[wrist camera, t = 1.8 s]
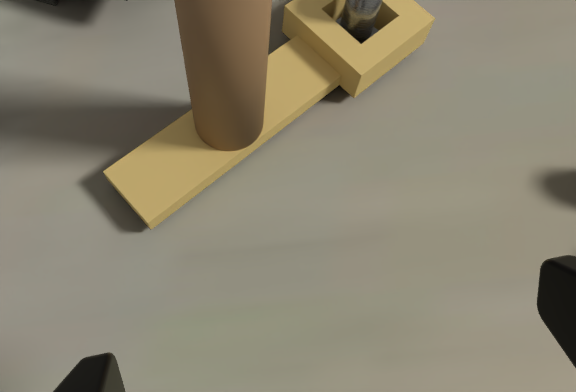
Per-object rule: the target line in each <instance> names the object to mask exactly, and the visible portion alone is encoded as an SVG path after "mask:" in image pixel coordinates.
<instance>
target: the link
mask: <svg viewBox="0 0 576 392" xmlns="http://www.w3.org/2000/svg"><path fill="white" fill-rule="evenodd" d="M174 1H175V7H176V13H177V19H178V25H179V32H180V38H181V44H182V50H183V56H184V62H185V69H186V75H187V81H188V87H189V93H190V99H191V106H192V109H191V110H190V111H188V112H187V113H185V114H184V115H183V116H181V117H180V118H178V119H177V120H176V121H174V122H173V123H171V124H170V125H168V126H167V127H166V128H164V129H163V130H161V131H160V132H158V133H157V134H156V135H154V136H153V137H151V138H150V139H148V140H147V141H146V142H144V143H143V144H141V145H140V146H139V147H137V148H136V149H134V150H133V151H131V152H130V153H129V154H127V155H126V156H124V157H123V158H121V159H120V160H119V161H117V162H116V163H114V164H113V165H111V166H110V167H109V168H107V169H106V170H104V171H103V173H104V174H105V176H106V178H107V180H108V181H109V182H110V183H111V184H112V185H113V187H114V188H115V189H116V190H117V191H118V192H119V193H120V195H121V196H122V197H123V198H124V199H125V200H126V202H127V203H128V204H129V205H130V206H131V207H132V208H133V210H134V211H135V212H136V213H137V214H138V215H139V217H140V218H141V219H142V220H143V221H144V222H145V223H146V225H147V226H148V227H149V228H150V229H153V228H154V227H155V226H157V225H158V224H159V223H161V222H162V221H163V220H164V219H166V218H167V217H168V216H170V215H171V214H172V213H174V212H175V211H176V210H177V209H179V208H180V207H181V206H183V205H184V204H185V203H187V202H188V201H189V200H190V199H192V198H193V197H194V196H196V195H197V194H198V193H200V192H201V191H202V190H203V189H205V188H206V187H207V186H209V185H210V184H211V183H213V182H214V181H215V180H216V179H218V178H219V177H220V176H222V175H223V174H224V173H226V172H227V171H228V170H229V169H231V168H232V167H233V166H235V165H236V164H237V163H239V162H240V161H241V160H242V159H244V158H245V157H246V156H248V155H249V154H250V153H252V152H253V151H254V150H255V149H257V148H258V147H259V146H261V145H262V144H263V143H265V142H266V141H267V140H268V139H270V138H271V137H272V136H274V135H275V134H276V133H278V132H279V131H280V130H281V129H283V128H284V127H285V126H287V125H288V124H289V123H291V122H292V121H293V120H294V119H296V118H297V117H298V116H300V115H301V114H302V113H304V112H305V111H306V110H307V109H309V108H310V107H311V106H313V105H314V104H315V103H317V102H318V101H319V100H320V99H322V98H323V97H324V96H326V95H327V94H328V93H330V92H331V91H332V90H333V89H335V88H336V87H337V86H339V85H340V86H341V87H342V88H343V89H344V90H346V91H347V92H348V93H349V94H350V95H351V96H352V97H353V98H355V97H356V96H357V95H358V94H360V93H361V92H362V91H364V90H365V89H366V88H367V87H369V86H370V85H371V84H372V83H374V82H375V81H376V80H377V79H379V78H380V77H381V76H383V75H384V74H385V73H386V72H388V71H389V70H390V69H391V68H393V67H394V66H395V65H396V64H398V63H399V62H400V61H402V60H403V59H404V58H405V57H407V56H408V55H409V54H410V53H412V52H413V51H414V50H415V49H417V48H418V47H419V46H421V45H422V44H423V43H424V41H425V39H426V37H427V34H428V32H429V30H430V28H431V26H432V24H433V22H434V20H435V18H434V17H433V16H431V15H430V14H429V13H428V12H427V11H425V10H424V9H423V8H422V7H421V6H420V5H418V4H417V3H416V2H415V1H414V0H382V3H381V6H380V9H379V13H378V16H377V19H376V22H375V25H374V27H375V28H376V29H377V30H378V32H377V33H375V34H374V35H373V36H371V37H370V38H369V39H367V40H366V41H365V42H363V43H362V44H360V43H359V42H358V41H357V40H356V39H355V38H353V37H352V36H351V35H350V34H349V33H348V32H347V31H346V30H345V29H343V28H342V27H341V26H340V25H339V24H338V23H337V22H336V20H337V19H339V18H340V17H341V16H342V13H343V9H344V5H345V1H346V0H292V1H291V2H289V3H288V4H286V5H285V7H284V17H283V27H282V32H283V33H284V34H285V35H286V36H287V37H288V38H289V39H291V40H289V41H288V42H287V43H285V44H284V45H282V46H281V47H279V48H278V49H277V50H275V51H274V52H272V53H271V54H269V55H268V50H269V36H270V21H271V7H272V0H174Z"/></svg>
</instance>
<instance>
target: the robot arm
mask: <svg viewBox="0 0 576 392" xmlns="http://www.w3.org/2000/svg"><path fill="white" fill-rule="evenodd" d="M537 308H538V312H539V314H540V317H541V319H542V320H543V322H544V323H545V325H546V326H547V327H548V329H549V330H550V332H551V333H552V335H553V336H554V338H555V339H556V340H557V342H558V343H559V345H560V346H561V348H562V349H563V351H564V352H565V353H566V355H567V356H568V358H569V359H570V361H571V362H572V364H573V365H574V366H575V368H576V257H575V256H571V255H565V256H560V257H556V258H551V259H547V260H545V261H544V262H543V263H542V265H541V268H540V276H539V287H538V297H537ZM53 392H125V388H124V385H123V381H122V378H121V374H120V371H119V367H118V364H117V360H116V358H115V356H114V355H113V354H112V353H104V354H99V355H94V356H89V357H85V358H83V359H82V360H81V361H80V362H79V363H78V364H77V365H76V366H75V367H74V368H73V370H72V371H71V372H70V373H69V374H68V375H67V376H66V377H65V379H64V380H63V381H62V382H61V383H60V384H59V385H58V387H57V388H56V389H55V390H54V391H53Z"/></svg>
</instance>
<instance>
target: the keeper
mask: <svg viewBox="0 0 576 392" xmlns="http://www.w3.org/2000/svg"><path fill="white" fill-rule="evenodd" d="M39 1H42V2H45V3H48V4H52V5H55V6H56V4H57V3H58V1H59V0H39ZM126 1H127V0H126Z"/></svg>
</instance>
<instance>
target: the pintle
mask: <svg viewBox="0 0 576 392" xmlns="http://www.w3.org/2000/svg"><path fill="white" fill-rule="evenodd" d="M381 3H382V0H346V1H345V5H344V9H343V13H342V16H341V17H340V18H339V19H337V20H336V22H337V23H338V24H339V25H340V26H341V27H342V28H343V29H345V30H346V31H347V32H348V33H349V34H350V35H351V36H352V37H353V38H355V39H356V40H357V41H358V42H359V43H360V44H362V43H363V42H365V41H366V40H367V39H369V38H370V37H371V36H373V35H374V34H375V33H377V32H378V30H377V29H376V28H375V27H374V25H375V22H376V19H377V16H378V13H379V9H380V6H381Z"/></svg>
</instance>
